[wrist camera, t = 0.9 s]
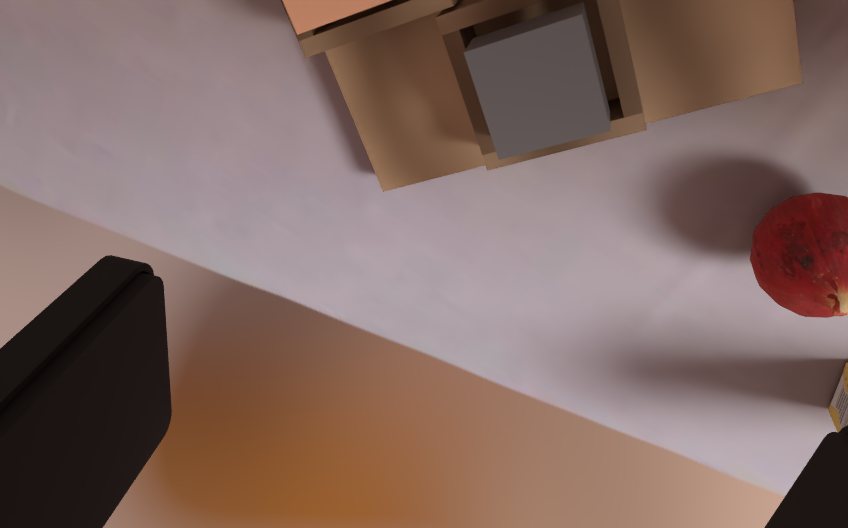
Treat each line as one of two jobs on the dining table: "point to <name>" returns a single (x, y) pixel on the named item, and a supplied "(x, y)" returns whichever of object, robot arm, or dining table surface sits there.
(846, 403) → the candy box
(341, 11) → the terracotta key
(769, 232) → the pomegranate
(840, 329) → the dining table surface
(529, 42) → the charcoal key
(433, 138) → the wooden shape sorter board
